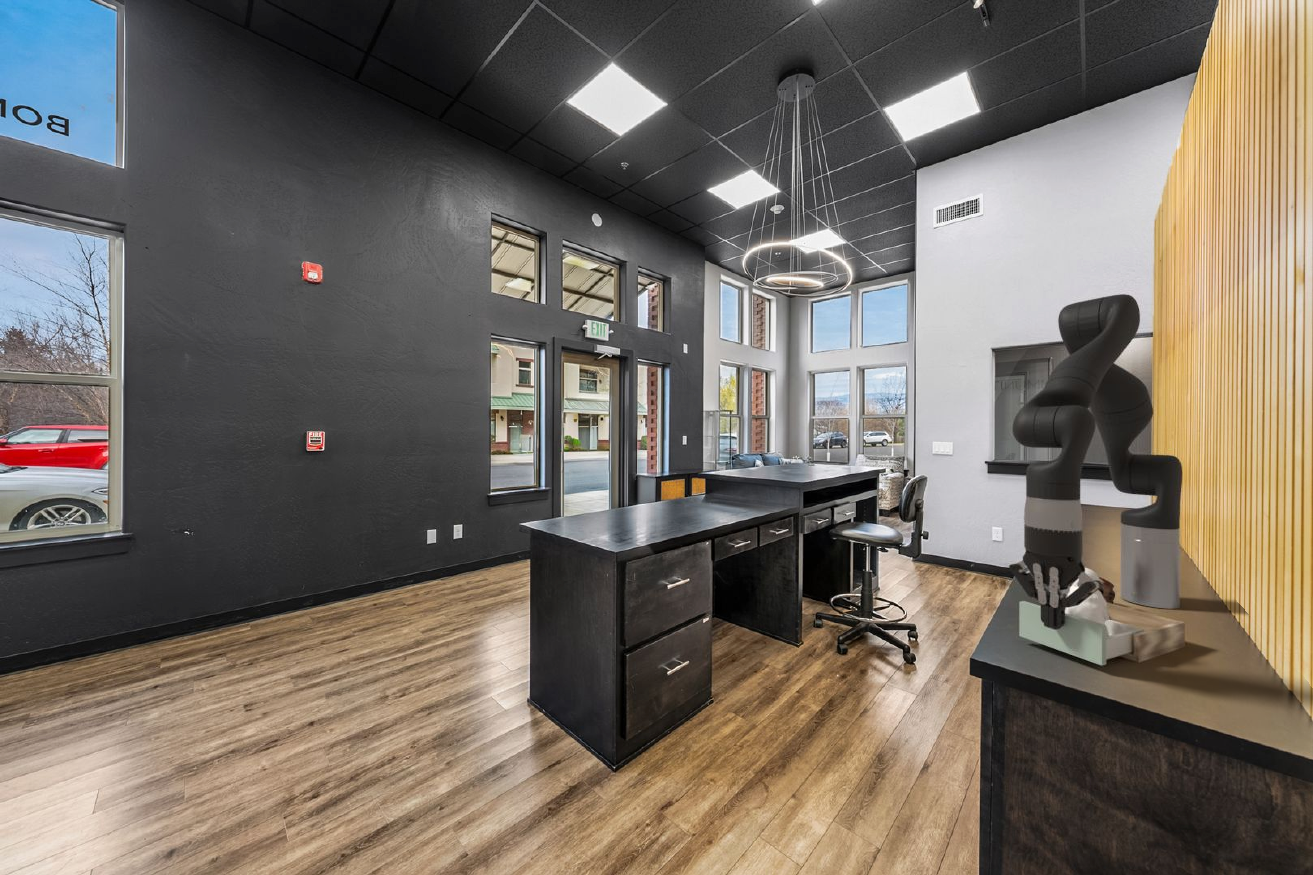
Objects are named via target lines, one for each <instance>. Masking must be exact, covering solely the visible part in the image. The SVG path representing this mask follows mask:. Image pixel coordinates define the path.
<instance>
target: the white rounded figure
mask: <svg viewBox="0 0 1313 875" xmlns="http://www.w3.org/2000/svg"><path fill="white" fill-rule="evenodd" d="M1085 573H1086V574H1087V575H1088V576H1089V577H1091V578H1092V579H1093V580H1098V581H1099V580H1100V582H1101V581H1102V580H1101V579H1099V575H1098V574H1097V573H1096V571H1094V570H1092V569H1091V568H1088V567H1085ZM1078 581H1079V578H1078V579H1077V580H1076V581H1075V582H1074V583H1073V584H1072V586H1071V587H1070V592H1069V593H1068V596H1069V595H1070V594H1072V593H1073V592H1074V591H1075V590H1077V589H1078V588H1079V587H1078V586H1077V583H1078ZM1102 582H1103V581H1102ZM1102 582H1101V583H1102ZM1103 583H1104V582H1103ZM1103 583H1102V584H1103ZM1068 596H1067V597H1068ZM1065 613H1066V614H1070V615H1073V616H1077V617H1080V618H1083V619H1087V620H1090V621H1094V622H1097V623H1100V624H1104V625H1105V621H1106V620H1109V615H1108V613H1107V602H1106V601H1105V599H1104V597H1103V595H1102V593H1101V592H1100V591H1099V590H1097V591H1096V592H1095V593H1093V594H1092V595H1091V596H1089V597H1088V598H1087V599H1086V600H1084V601H1083V602H1082V603H1081V604H1079V605H1077V606H1073V607H1066V608H1065ZM1108 636H1109V632H1108V629H1107V626H1106V637H1108Z"/></svg>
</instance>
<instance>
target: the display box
mask: <svg viewBox="0 0 1313 875" xmlns="http://www.w3.org/2000/svg"><path fill="white" fill-rule="evenodd" d="M1107 613H1108V615H1109V620H1113V621H1116V622H1120V623H1123V624H1127V625H1130V626H1134V627H1137V628H1141V629H1144V631H1143V632H1140V633H1136V634H1134V651H1133V652H1130V653H1127V654H1123V655H1120V656H1119V657H1121V658H1124V659H1126V660H1129V661H1132V662H1136V663H1138V664H1139V663H1142V662H1146V661H1148V660H1152V659H1154V658H1157V657H1160V656H1162V655H1166V654H1169V653H1171V652H1174V651H1176V650H1180V649H1183V648H1185V644H1186V639H1185V638H1186V635H1185V634H1186V622H1184V621H1181V620H1177V619H1172V618H1168V617H1165V616H1160V615H1157V614H1153V613H1149V612H1145V611H1142V610H1137V609H1134V608H1130V607H1126V606H1122V605H1120V604H1119V605H1118V604H1115V603H1113V604H1111V603H1107Z"/></svg>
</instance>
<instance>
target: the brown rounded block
mask: <svg viewBox="0 0 1313 875" xmlns="http://www.w3.org/2000/svg"><path fill="white" fill-rule="evenodd" d="M1098 577H1099V576H1098ZM1099 579H1101V580H1102V581H1103V582H1104V583H1103V582H1102V581H1101V582H1102V583H1103V584H1102V587H1101V588H1100V589H1098V590H1099V591H1100V592H1101V593H1102V595H1103V597H1104V599H1105V601H1106V602H1107V603H1111V604H1115V603H1114V600H1115V598H1116V592H1115V591H1114V588H1115V585H1114V584H1113V583H1112V582H1110V581H1109V580H1107V579H1105V578H1103V577H1099ZM1099 581H1100V580H1099ZM1071 586H1072V585H1071ZM1071 586H1070V587H1071Z"/></svg>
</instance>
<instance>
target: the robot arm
mask: <svg viewBox="0 0 1313 875" xmlns="http://www.w3.org/2000/svg"><path fill="white" fill-rule="evenodd" d="M1140 311H1141V310H1140V307H1139V304H1138V301H1137V300H1136V299H1135V297H1134V296H1132V295H1131V294H1126V293H1125V294H1120V293H1119V294H1113V295H1108V296H1101V297H1096V298H1092V299H1088V300H1083V301H1078V302H1074V303H1071V304H1068V305H1065V306H1064V307H1063V308H1062V309H1061V310H1060V311H1059V314H1058V320H1057V322H1058V329H1059V333H1060V337H1061V340H1062V342H1063V344H1064V347H1065V348H1066V350H1067V353H1068V356H1067V357H1065V358H1064V359H1063V360H1062V361H1060V362H1059V363H1058V365H1057V366H1055V368H1054V369H1053V370H1052V372H1051V373H1050V375H1049V377H1048V379H1047V381H1046V383H1045V385H1044V387H1043V389H1042V390H1040V391H1039V392H1038V393H1037V394H1036V395H1034V396H1033V397H1032V398H1030V400H1029V401H1028V402H1026V403H1025V404H1024V405H1023V406H1022V407H1021V408H1020V410H1018V412H1017V413H1016V415H1015V417H1014V420H1013V424H1012V434H1013V437H1014V439H1015V440H1016V441H1017V442H1018V444H1020V445H1021V446H1024V447H1027V448H1032V449H1033V448H1036V449H1037V448H1038V449H1043V448H1044V449H1046V448H1047V449H1061V453H1060V454H1059V455H1058V456H1057V457H1056V458H1055V459H1052V460H1045V461H1039V462H1034V463H1031V464H1028V466H1027V468H1026V473H1025V476H1026V477H1025V481H1026V482H1025V483H1026V484H1025V489H1026V490H1025V494H1026V496H1025V505H1024V512H1023V513H1024V515H1023V521H1024V522H1023V524H1024V525H1023V526H1024V528H1023V530H1024V534H1023V536H1024V539H1023V540H1024V541H1023V542H1024V543H1023V544H1024V549H1025V552H1024V554H1023V556H1022V560H1021V561H1019V562H1016V563H1012V564H1009V566H1008V568H1009V570H1010V571H1011V573H1012V574H1013V576H1014V577H1015V578H1016V581H1017V582H1018V583H1019V584H1020V586H1021V587H1022V589H1023V591H1024V592H1025V593H1026V594H1027V596H1028V597H1029V598H1033V599H1035V600H1037V601H1038V603H1039V605H1040V606H1041V621H1042V622H1044V626H1045V627H1048V628H1051V629H1054V630H1056V629H1060V628H1061V627H1062V626H1064V624H1065V608H1066V607H1073V606H1077V605H1079V604H1081V603H1082V602H1083V601H1084V600H1086V599H1087V598H1088V597H1089V596H1091V595H1092V594H1093V593H1095V592H1096V591H1097V590H1098V589H1100V588H1101V587H1102V583H1101V582H1100V581H1098V580H1093V579H1092V578H1091V577H1089V576H1088V575H1087V574H1086V573H1085V568H1086V567H1085V565H1084V564H1083V561H1082V557H1083V509H1082V505H1081V504H1082V503H1081V477H1082V469H1083V467H1084V466H1083V465H1084V462H1085V459H1086V456H1087V452H1088V451H1089V450H1088V449H1089V448H1090V445H1091V443H1092V440H1093V438H1094V435H1095V431H1096V427H1097V429H1098V432H1099V435H1100V437H1101V441H1102V443H1103V447H1104V451H1105V455H1106V459H1107V465H1108V469H1109V472H1110V473H1109V474H1110V478H1111V481H1112V483H1113V486H1114V487H1115V489H1116V490H1117V491H1119V492H1120V493H1124V494H1129V495H1137V496H1138V495H1141V496H1152V497H1153V496H1154V497H1156V499H1155V502H1153V503H1152V504H1149V505H1147V506H1143V507H1138V508H1132V509H1126V510H1123V511H1122V512H1121V513H1120V598H1121V599H1123V600H1125V601H1127V602H1130V603H1133V604H1137V605H1142V606H1144V607H1145V606H1146V607H1151V608H1159V609H1169V610H1175V609H1179V608H1180V605H1181V604H1180V602H1181V601H1180V600H1181V597H1180V596H1181V595H1180V593H1181V592H1180V591H1181V590H1180V588H1181V585H1180V584H1181V583H1180V581H1181V576H1180V575H1181V574H1180V573H1181V572H1180V571H1181V570H1180V566H1181V564H1180V563H1181V558H1180V556H1181V552H1180V549H1181V547H1180V546H1181V545H1180V544H1181V543H1180V538H1181V536H1180V535H1181V534H1180V532H1181V530H1180V527H1181V525H1180V524H1181V522H1180V521H1181V499H1182V496H1181V495H1182V488H1183V487H1182V486H1183V466H1182V462H1181V461H1180V459H1179V458H1178V457H1177V456H1175V455H1169V454H1145V453H1144V454H1143V453H1142V454H1136V453H1135V454H1134V453H1132V452H1130V447H1131V445H1132V444H1133V443H1134V441H1135V440H1136V439H1137V437H1139V435H1140V434H1141V433H1142V432H1144V430H1145V428H1146V427H1147V426H1148V425H1149V424H1150V422H1151V420H1152V419H1153V415H1154V408H1153V403H1152V401H1151V397H1150V394H1149V391H1148V388H1147V385H1146V384H1145V383H1144V382H1143V381H1142V380H1141V379H1140V378H1138V377H1137V376H1136V375H1134V374H1133V373H1131V372H1130V371H1128V370H1126V369H1125V368H1123V367H1121V366H1119V365H1117V363H1115V362H1116V361H1117V360H1118V359H1119V358H1120V356H1121V355H1122V353H1124V351H1125V349H1127V348H1128V347H1129V344H1130V343H1131V342H1132V341H1133V340H1134V338H1135V336H1136V334H1137V333H1138V331H1139V328H1140V322H1141V312H1140ZM1078 578H1079V581H1078V583H1077V586H1078V587H1079V588H1078V589H1077V590H1075V591H1074V592H1073V593H1072V594H1070V595H1069V596H1068V593H1069V592H1070V586H1071V585H1072V584H1073V583H1074V582H1075V581H1076V580H1077V579H1078ZM1067 596H1068V597H1067Z"/></svg>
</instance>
